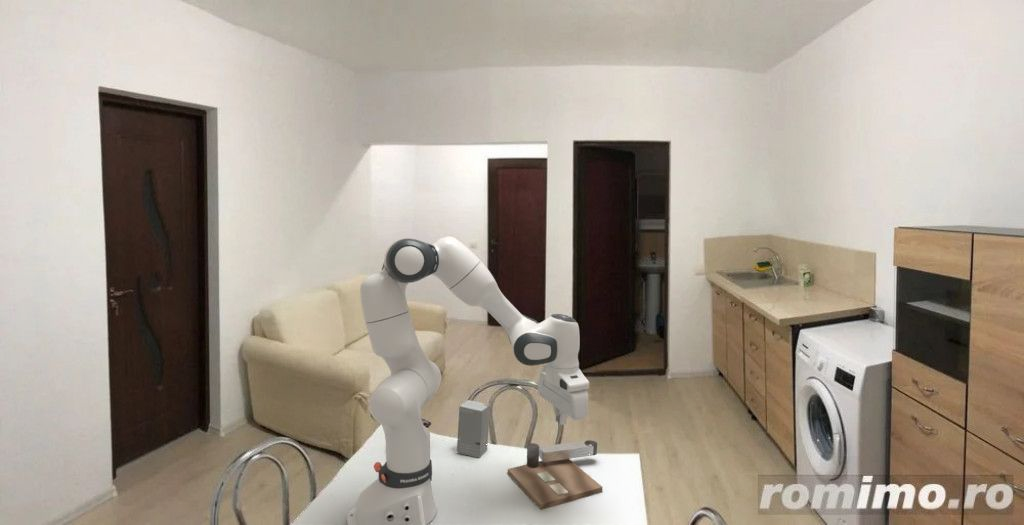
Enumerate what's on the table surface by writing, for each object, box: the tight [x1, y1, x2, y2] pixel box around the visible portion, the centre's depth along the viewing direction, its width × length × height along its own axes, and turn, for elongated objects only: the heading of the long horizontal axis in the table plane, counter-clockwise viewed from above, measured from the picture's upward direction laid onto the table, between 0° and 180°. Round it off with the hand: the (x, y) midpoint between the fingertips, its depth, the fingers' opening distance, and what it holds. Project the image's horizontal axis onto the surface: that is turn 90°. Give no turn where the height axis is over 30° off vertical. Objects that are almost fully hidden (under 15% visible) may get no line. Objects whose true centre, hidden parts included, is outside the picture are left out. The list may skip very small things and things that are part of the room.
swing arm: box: [539, 439, 598, 462], centre depth 166 cm, size 18×4×3 cm, turn 107°
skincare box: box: [456, 399, 491, 459], centre depth 173 cm, size 8×7×16 cm
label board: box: [507, 443, 603, 511], centre depth 156 cm, size 20×21×8 cm
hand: (560, 422), depth 147 cm, fingers closed
